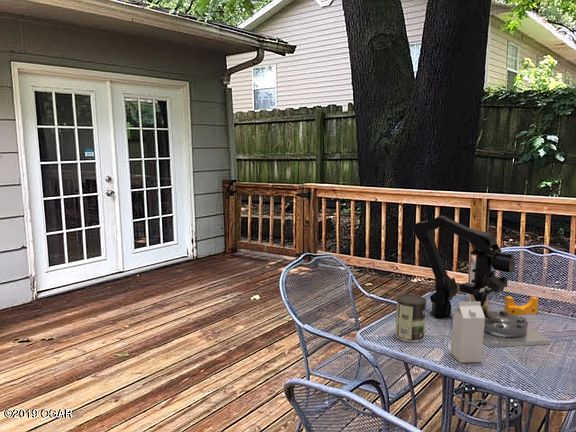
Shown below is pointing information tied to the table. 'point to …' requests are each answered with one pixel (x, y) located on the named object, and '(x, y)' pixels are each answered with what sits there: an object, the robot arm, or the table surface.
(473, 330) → the milk carton
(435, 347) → the table surface
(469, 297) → the cracker box
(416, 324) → the coffee can
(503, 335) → the crank wheel
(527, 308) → the pipe clamp
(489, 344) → the base plate
